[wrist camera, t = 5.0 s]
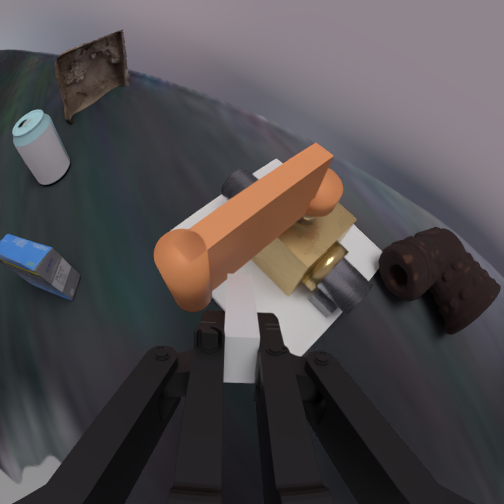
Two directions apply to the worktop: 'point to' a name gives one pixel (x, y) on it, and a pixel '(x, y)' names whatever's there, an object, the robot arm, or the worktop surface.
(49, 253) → the label tape cartridge
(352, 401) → the robot arm
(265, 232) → the lever
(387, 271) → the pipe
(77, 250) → the worktop surface
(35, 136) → the can
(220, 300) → the mount board
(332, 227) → the valve
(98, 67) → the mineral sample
